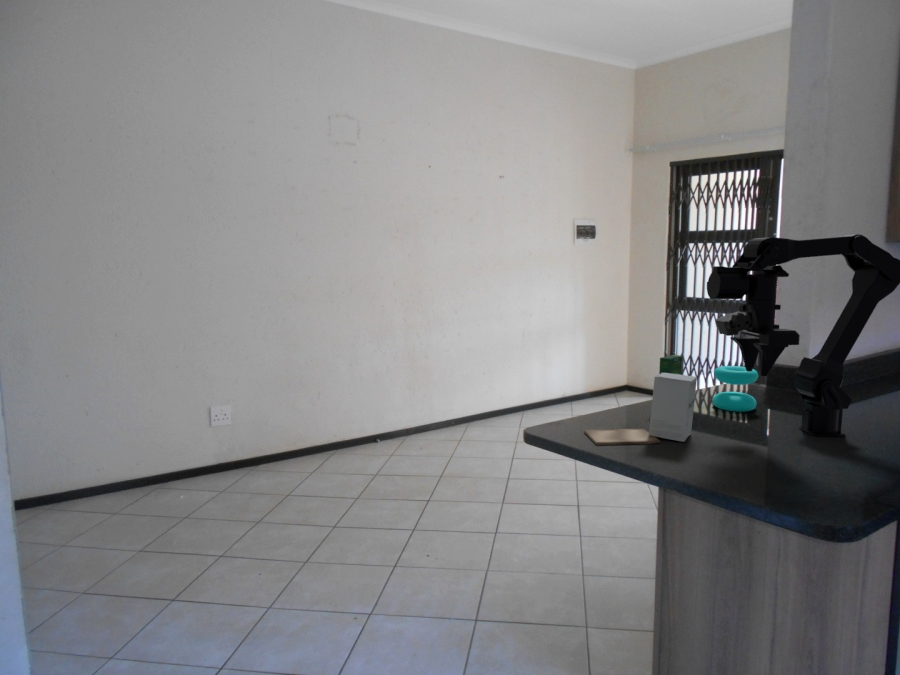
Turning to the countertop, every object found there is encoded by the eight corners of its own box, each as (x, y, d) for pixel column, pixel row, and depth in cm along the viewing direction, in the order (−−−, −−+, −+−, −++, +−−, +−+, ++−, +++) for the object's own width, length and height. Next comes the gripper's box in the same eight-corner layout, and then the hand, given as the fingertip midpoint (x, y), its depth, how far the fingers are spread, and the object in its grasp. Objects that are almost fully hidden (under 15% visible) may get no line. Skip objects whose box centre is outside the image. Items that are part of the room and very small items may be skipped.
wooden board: (643, 431, 131) (643, 428, 131) (660, 443, 123) (660, 440, 122) (584, 432, 131) (584, 430, 131) (597, 445, 122) (597, 442, 122)
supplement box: (685, 442, 122) (691, 381, 121) (647, 435, 126) (653, 375, 124) (692, 434, 128) (698, 376, 127) (656, 428, 132) (661, 371, 131)
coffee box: (670, 404, 156) (672, 353, 154) (681, 405, 154) (683, 354, 152) (656, 409, 150) (658, 357, 148) (667, 411, 148) (670, 358, 146)
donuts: (720, 371, 146) (709, 364, 156) (718, 412, 147) (707, 402, 157) (765, 372, 145) (750, 365, 154) (762, 413, 146) (748, 403, 156)
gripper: (701, 296, 134) (698, 366, 136) (747, 302, 115) (742, 383, 117) (750, 296, 135) (746, 365, 137) (803, 302, 116) (798, 382, 118)
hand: (756, 373), depth 127 cm, fingers open, 5 cm apart
